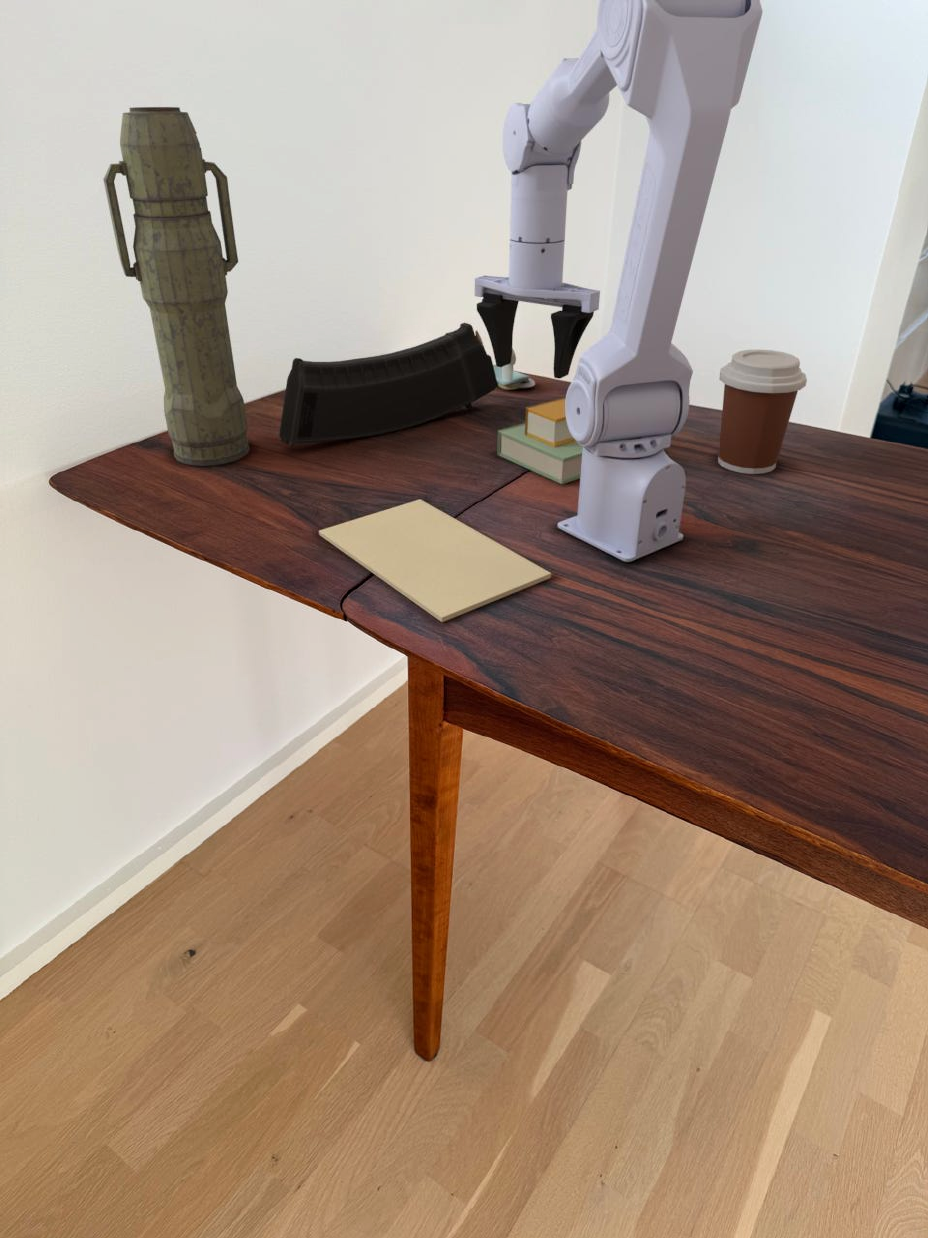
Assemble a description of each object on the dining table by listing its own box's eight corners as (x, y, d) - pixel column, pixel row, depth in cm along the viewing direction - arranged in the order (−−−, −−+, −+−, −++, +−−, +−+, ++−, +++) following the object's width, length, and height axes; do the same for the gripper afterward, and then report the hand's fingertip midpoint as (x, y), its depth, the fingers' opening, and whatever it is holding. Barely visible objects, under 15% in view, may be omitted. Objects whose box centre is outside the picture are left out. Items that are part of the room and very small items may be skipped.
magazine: (262, 383, 93) (473, 270, 103) (250, 376, 96) (457, 266, 105) (317, 508, 105) (502, 396, 114) (305, 499, 107) (487, 390, 116)
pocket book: (604, 411, 104) (607, 385, 102) (635, 422, 100) (638, 396, 99) (524, 434, 97) (525, 407, 95) (554, 447, 94) (556, 419, 92)
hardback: (593, 426, 108) (595, 403, 106) (660, 451, 101) (663, 427, 99) (496, 454, 100) (497, 430, 98) (562, 484, 92) (563, 458, 91)
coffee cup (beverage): (689, 461, 98) (705, 356, 92) (735, 442, 103) (753, 342, 97) (758, 485, 92) (780, 374, 86) (803, 464, 97) (827, 358, 91)
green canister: (273, 454, 100) (228, 107, 81) (171, 474, 95) (99, 109, 76) (250, 432, 106) (204, 105, 88) (153, 448, 101) (83, 107, 83)
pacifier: (511, 377, 127) (480, 383, 123) (513, 333, 123) (481, 339, 120) (544, 388, 122) (513, 395, 119) (548, 344, 119) (515, 349, 115)
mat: (551, 577, 75) (551, 573, 75) (442, 622, 69) (441, 617, 68) (420, 503, 88) (420, 498, 88) (319, 535, 82) (318, 530, 82)
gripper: (617, 240, 87) (606, 372, 95) (500, 228, 95) (497, 352, 102) (584, 249, 83) (575, 388, 90) (463, 236, 90) (463, 365, 97)
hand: (531, 370), depth 95 cm, fingers open, 7 cm apart
